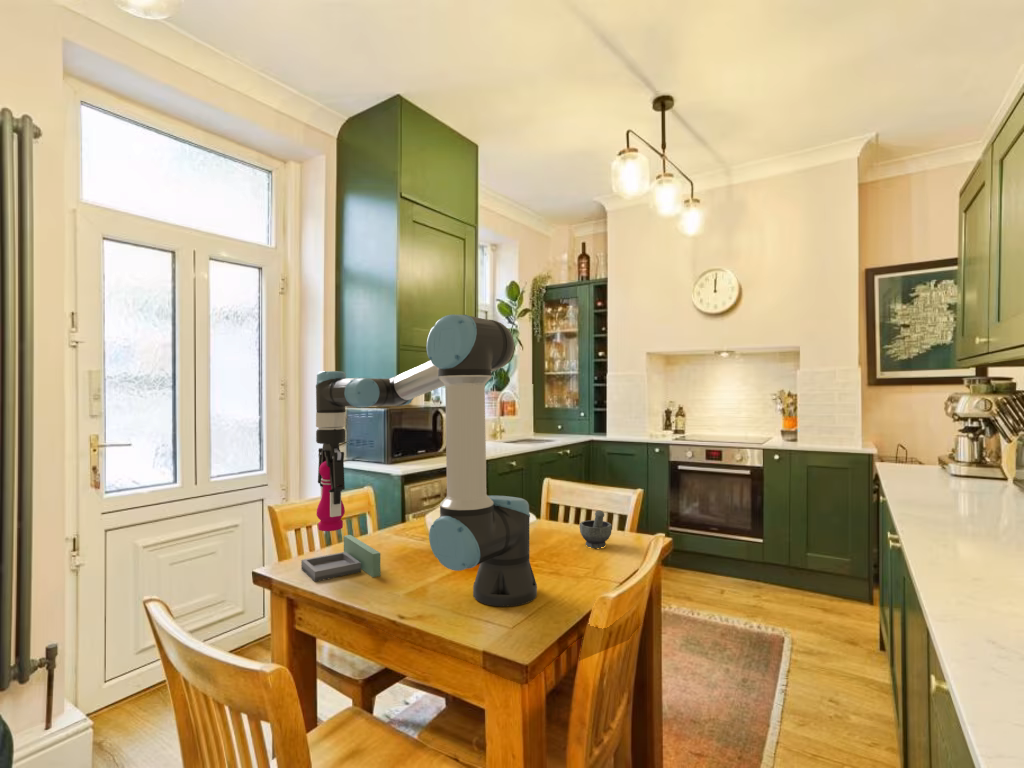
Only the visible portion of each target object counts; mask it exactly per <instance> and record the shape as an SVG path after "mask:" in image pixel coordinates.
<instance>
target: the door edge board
mask: <svg viewBox="0 0 1024 768" xmlns="http://www.w3.org/2000/svg"><path fill="white" fill-rule="evenodd" d="M343 552H346V553H348V554H349V555H350V556H352V557H353V558H355V559H356V560H358V561H359V562H361V571H364V573H366V574H368V575H369V576H370V577H371V578H377V576H378V577H381V552H379V551H378V550H376V549H375V548H373V547H372V546H370V545H369V544H367V543H365V542H363V541H362V540H360V539H358V538H357V537H355V536H354V535H352V534H347V535H343Z"/></svg>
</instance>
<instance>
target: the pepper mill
mask: <svg viewBox="0 0 1024 768" xmlns="http://www.w3.org/2000/svg"><path fill="white" fill-rule="evenodd" d="M319 473H320V475H321V476H322V479H321V480H322V481H321V484H323V494H322V498H321V497H320V500H319V503H318V505H317V509H316V517H317V518H318V519H319V520H320V521H319V522H318V525H317V527H318V530H319V531H321V532H334V531H339V530H341V529H343V528H344V520H343V519H342V518H343V517H344V515H346V514H345V513H346V512H345V505H344V503H343V500H342V499H341V516H335V517H330V493H329V490H331V481H330V468H329V467H328V466H327V463H326V461H324V462H323V463H322V464H321V465H320V468H319Z"/></svg>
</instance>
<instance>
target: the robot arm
mask: <svg viewBox="0 0 1024 768" xmlns="http://www.w3.org/2000/svg"><path fill="white" fill-rule="evenodd" d="M514 350H515V342H514V337H513V335H512V333H511V331H510V329H508V328H507V326H506V325H504V323H501V322H499V321H497V320H493V319H487V318H481V317H476V316H471V315H467V314H448V315H447V314H446V315H444V316H442V317H441V318H439V319H438V320H437V321H436V322H435V324H434V325H433V326H432V327H431V328H430V331H429V332H428V336H427V340H426V354H427V357H428V359H429V360H427V361H426V362H424V363H422V364H419V365H417V366H415V367H413V368H410V369H408V370H406V371H403V372H402V373H399V374H397V375H395V376H393V377H390V378H367V377H352V378H347V376H346V375H347V374H346V373H345V372H344V371H341V370H339V371H337V370H327V371H326V370H323V371H319V372H317V375H316V385H315V395H316V396H315V397H316V398H315V399H316V400H315V401H316V402H315V403H316V404H315V406H316V411H315V427H316V428H318V429H316V431H315V442H316V443H317V444H318V445H319V444H320V445H322V447H319V448H318V470H317V471H318V472H317V483H318V484H319V486H320V499H321V498H322V494H323V484H321V481H322V480H321V479H322V476H321V475H320V473H319V468H320V465H321V464H322V463H323V462H324V461H326V463H327V466H328V467H329V468H330V481H331V490H329V493H330V517H335V516H341V500H342V492H343V490H345V489H346V488H345V487H346V486H345V469H344V468H345V464H344V463H345V462H344V459H345V452H344V451H341V449H340V444H344V443H345V442H346V431H347V430H346V429H345V427H346V420H347V418H348V416H347V415H346V413H347V412H346V407H347V408H348V407H349V408H357V409H361V408H362V409H363V408H369V407H400V406H406V405H409V404H411V403H412V401H413V400H414V399H415V398H417V397H420V396H422V395H424V394H427V393H429V392H433V391H435V390H437V389H439V388H442V387H444V390H445V391H444V393H445V397H444V398H445V447H446V449H445V451H446V453H445V454H446V455H445V456H446V459H445V461H446V495H445V496H446V497H445V498H443V500H442V501H441V502H440V503H439V517H437V518H436V519H435V520H434V521H433V523H432V524H431V525H430V528H429V533H428V539H429V545H430V549H431V551H432V554H433V555H434V556H435V558H437V560H438V561H439V563H440V564H441V565H442V566H444V568H446V569H448V570H451V571H455V572H457V571H458V572H459V571H464V570H467V569H472V568H474V567H476V566H477V565H479V567H478V569H477V572H476V575H475V576H476V577H475V581H474V582H473V587H472V589H473V591H472V593H473V595H472V596H473V598H474V599H475V600H476V601H477V602H479V603H481V604H484V605H487V606H493V607H516V606H521V605H525V604H528V603H530V602H532V601H534V600H535V599H536V597H538V596H537V595H538V584H537V581H536V577H535V574H534V571H533V568H532V565H531V561H530V518H531V514H530V504H529V502H528V501H527V500H526V499H524V498H522V497H518V496H517V497H515V496H508V495H507V496H506V495H488V494H487V449H486V447H487V446H486V443H487V442H486V441H487V439H486V438H487V437H486V394H485V393H486V384H487V383H488V381H489V380H491V379H492V373H493V372H494V371H497V370H499V369H501V368H503V367H505V366H506V365H507V364H508V363H509V362H510V360H511V359H512V357H513V354H514Z"/></svg>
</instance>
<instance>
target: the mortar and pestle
mask: <svg viewBox="0 0 1024 768" xmlns="http://www.w3.org/2000/svg"><path fill="white" fill-rule="evenodd" d="M594 515H595V517H594V519H593V520H592V519H591V520H584V521H582V522H580V523H579V532H580V535H581V536H582V538H583V539H584V540H585V546H586V545H587V546H588V547H591V548H601V547H604V546H605V545H606V542H607V541H608V540H609V539H610V537H611V534H612V528H613V525H612V524H611V523H610V522H608V521H606V520H604V517H605V513H604V511H603V510H596V511H595V512H594ZM606 546H607V545H606Z"/></svg>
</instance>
